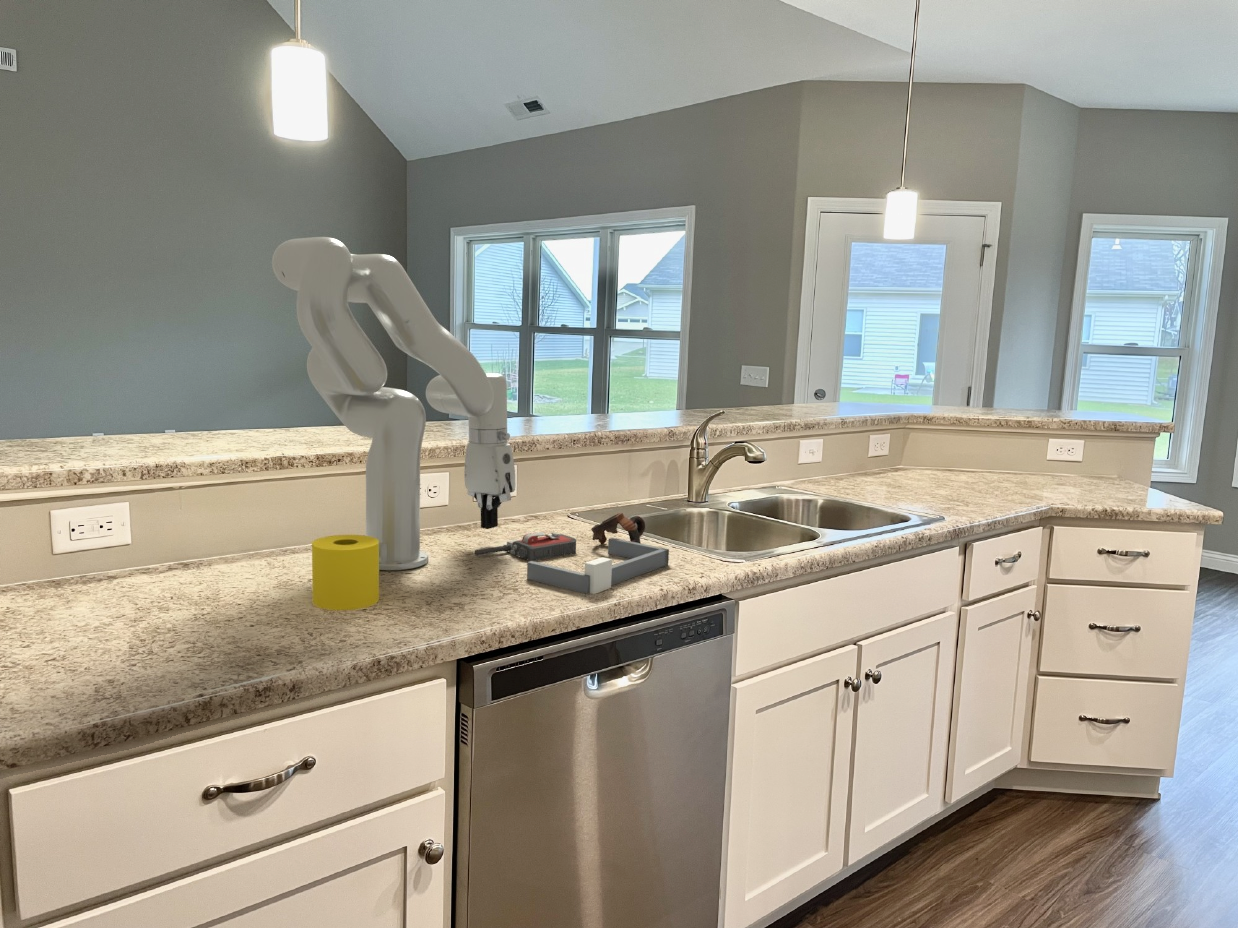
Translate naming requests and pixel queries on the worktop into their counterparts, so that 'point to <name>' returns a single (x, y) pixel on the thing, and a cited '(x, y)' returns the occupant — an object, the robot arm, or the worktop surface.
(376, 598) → the yellow toilet paper roll
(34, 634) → the worktop surface
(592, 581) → the cradle
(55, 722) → the worktop surface
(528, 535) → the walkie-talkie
